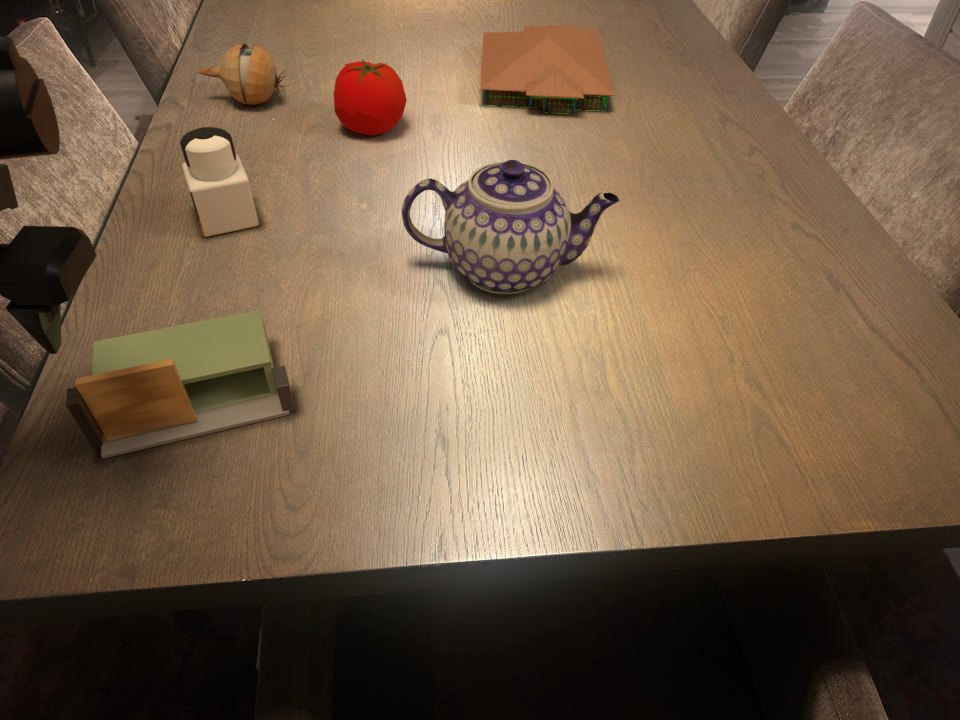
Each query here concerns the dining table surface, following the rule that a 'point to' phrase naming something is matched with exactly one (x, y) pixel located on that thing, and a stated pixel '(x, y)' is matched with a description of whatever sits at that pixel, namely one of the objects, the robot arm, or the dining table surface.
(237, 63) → the split yellow onion
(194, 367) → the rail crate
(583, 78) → the house
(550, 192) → the teapot
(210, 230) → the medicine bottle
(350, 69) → the tomato
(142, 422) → the sliding door
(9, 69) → the robot arm
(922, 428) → the dining table surface
